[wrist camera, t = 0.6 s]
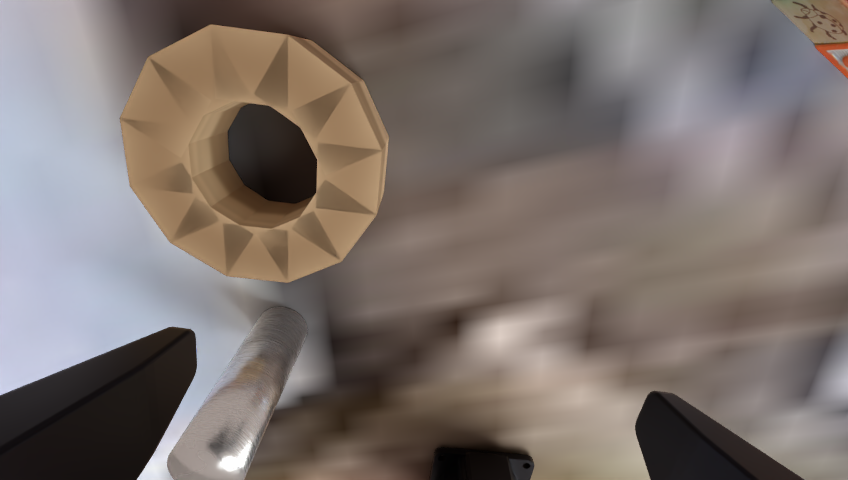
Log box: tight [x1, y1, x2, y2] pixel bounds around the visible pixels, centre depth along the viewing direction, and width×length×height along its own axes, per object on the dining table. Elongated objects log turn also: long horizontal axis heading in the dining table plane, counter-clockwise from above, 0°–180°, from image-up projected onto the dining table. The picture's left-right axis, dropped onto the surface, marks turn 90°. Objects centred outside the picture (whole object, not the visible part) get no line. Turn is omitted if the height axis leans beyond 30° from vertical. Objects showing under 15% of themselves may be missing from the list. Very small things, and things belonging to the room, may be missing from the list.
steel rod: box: [167, 307, 308, 480], centre depth 20 cm, size 3×3×9 cm
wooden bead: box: [120, 24, 389, 283], centre depth 18 cm, size 10×10×4 cm
